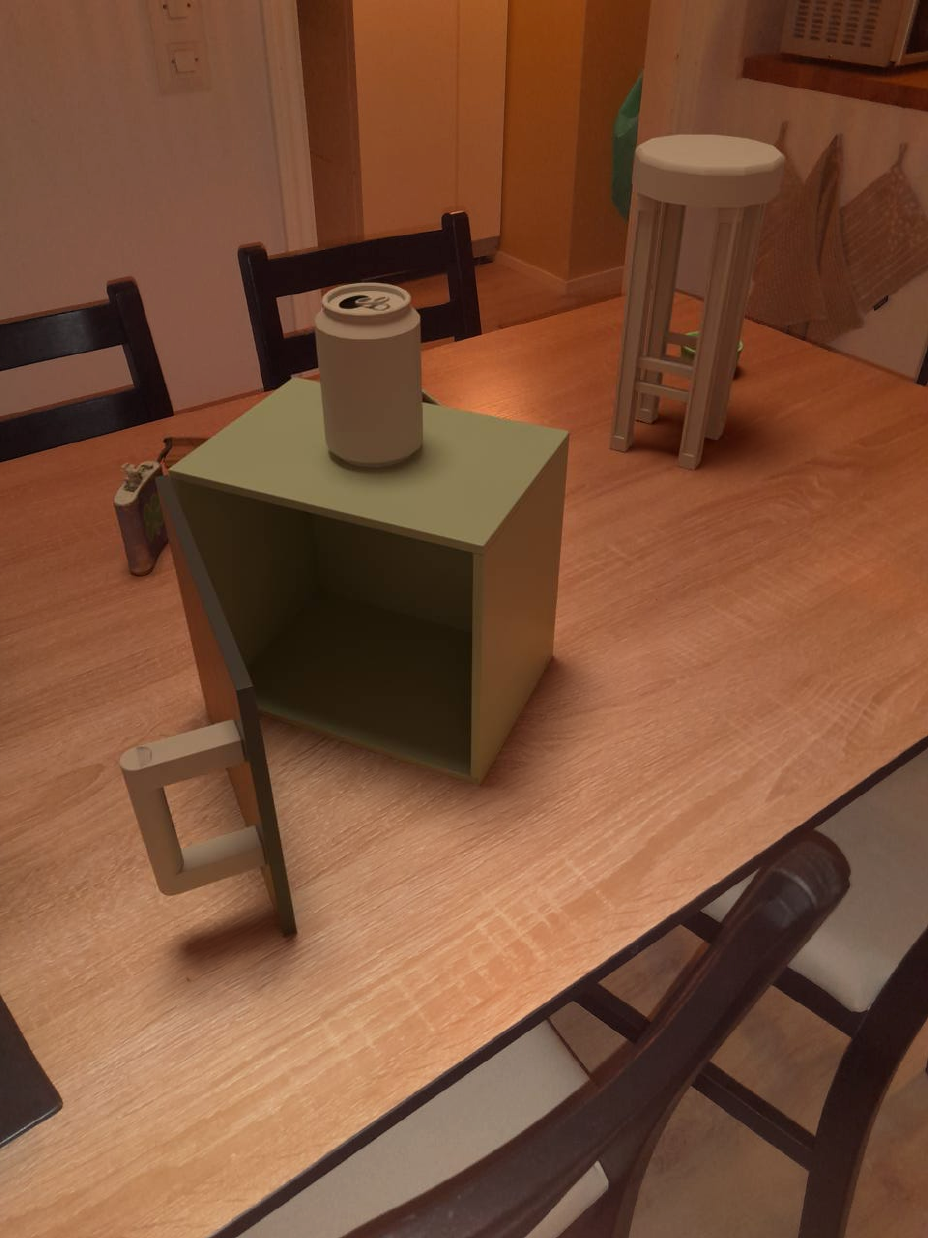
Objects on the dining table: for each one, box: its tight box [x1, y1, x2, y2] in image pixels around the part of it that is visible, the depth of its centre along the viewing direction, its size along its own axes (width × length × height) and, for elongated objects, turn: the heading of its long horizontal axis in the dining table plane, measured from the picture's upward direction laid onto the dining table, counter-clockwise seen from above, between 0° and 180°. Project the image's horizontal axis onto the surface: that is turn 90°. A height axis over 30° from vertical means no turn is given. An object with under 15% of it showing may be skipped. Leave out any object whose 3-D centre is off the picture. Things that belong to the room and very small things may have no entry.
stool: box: [609, 133, 786, 471], centre depth 115 cm, size 16×16×35 cm
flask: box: [112, 460, 169, 577], centre depth 102 cm, size 9×3×11 cm, turn 173°
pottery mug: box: [156, 435, 213, 470], centre depth 114 cm, size 12×10×8 cm
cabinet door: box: [118, 474, 298, 938], centre depth 69 cm, size 8×26×23 cm, turn 24°
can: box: [313, 282, 423, 468], centre depth 71 cm, size 8×8×12 cm
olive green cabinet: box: [167, 376, 571, 787], centre depth 82 cm, size 18×26×24 cm
